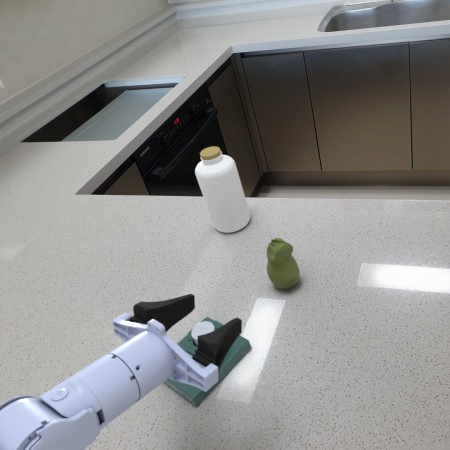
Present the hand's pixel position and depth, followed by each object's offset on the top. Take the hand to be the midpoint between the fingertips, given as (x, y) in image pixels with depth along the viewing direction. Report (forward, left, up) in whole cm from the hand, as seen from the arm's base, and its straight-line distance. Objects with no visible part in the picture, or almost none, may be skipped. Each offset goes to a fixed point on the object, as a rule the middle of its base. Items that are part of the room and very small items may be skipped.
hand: (215, 312), depth 56 cm
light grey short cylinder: (+2, +10, -14) cm, 17 cm away
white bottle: (+29, +32, -18) cm, 47 cm away
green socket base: (0, +10, -17) cm, 20 cm away
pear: (+20, +9, -18) cm, 28 cm away
